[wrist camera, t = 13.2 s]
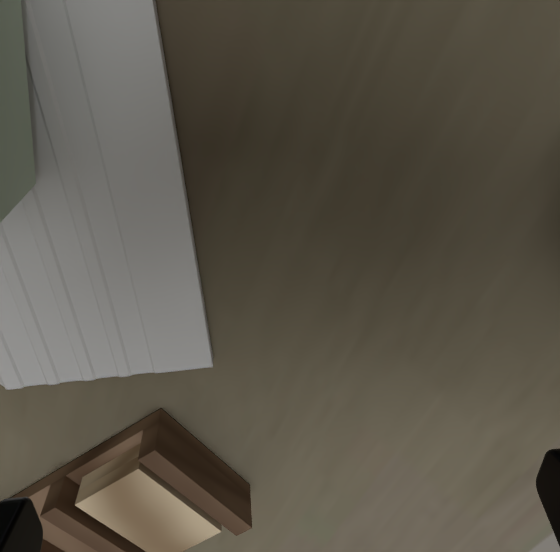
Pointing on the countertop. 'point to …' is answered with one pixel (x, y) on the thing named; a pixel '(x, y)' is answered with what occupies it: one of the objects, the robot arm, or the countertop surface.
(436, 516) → the countertop surface
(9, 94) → the pale green block
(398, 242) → the countertop surface
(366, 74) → the countertop surface
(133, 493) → the offcut top
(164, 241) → the baseboard
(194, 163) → the countertop surface
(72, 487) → the rack
